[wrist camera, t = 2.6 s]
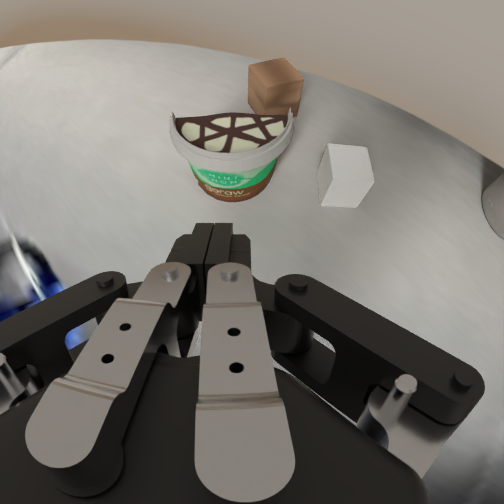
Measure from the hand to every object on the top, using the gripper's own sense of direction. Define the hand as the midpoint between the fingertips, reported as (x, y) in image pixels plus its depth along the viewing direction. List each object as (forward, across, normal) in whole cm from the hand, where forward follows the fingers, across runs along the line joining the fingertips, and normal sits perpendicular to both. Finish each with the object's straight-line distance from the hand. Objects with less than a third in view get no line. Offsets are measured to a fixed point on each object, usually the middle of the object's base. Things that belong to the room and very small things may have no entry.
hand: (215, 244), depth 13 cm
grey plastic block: (+23, -12, +4) cm, 26 cm away
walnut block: (+32, -5, -6) cm, 33 cm away
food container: (+23, 0, +4) cm, 24 cm away
